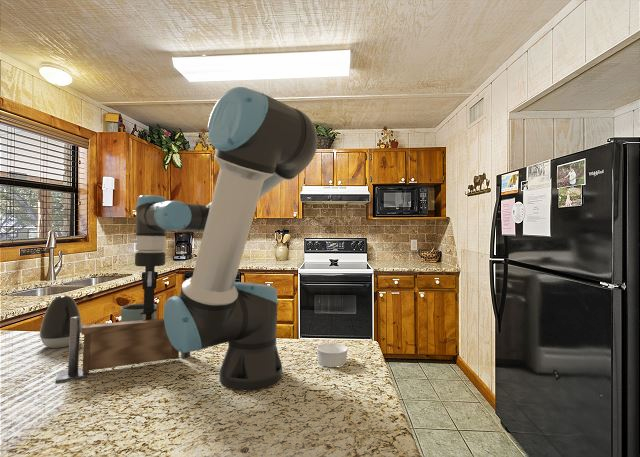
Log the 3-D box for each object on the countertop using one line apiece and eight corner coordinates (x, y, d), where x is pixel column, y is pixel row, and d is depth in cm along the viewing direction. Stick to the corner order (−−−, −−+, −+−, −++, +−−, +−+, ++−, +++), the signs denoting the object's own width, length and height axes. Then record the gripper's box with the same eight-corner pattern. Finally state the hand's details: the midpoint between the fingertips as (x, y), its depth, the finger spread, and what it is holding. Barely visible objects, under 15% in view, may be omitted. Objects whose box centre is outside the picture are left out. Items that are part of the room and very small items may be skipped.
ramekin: (310, 360, 93) (311, 345, 94) (336, 355, 98) (337, 340, 98) (326, 371, 86) (326, 355, 86) (353, 366, 90) (354, 350, 90)
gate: (79, 372, 79) (81, 328, 79) (81, 368, 81) (83, 325, 81) (178, 358, 89) (180, 319, 89) (177, 355, 92) (179, 317, 92)
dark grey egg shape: (74, 337, 107) (76, 291, 107) (86, 344, 101) (89, 295, 101) (34, 345, 99) (36, 295, 99) (44, 353, 93) (47, 299, 93)
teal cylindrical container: (136, 351, 96) (138, 310, 96) (110, 347, 99) (112, 307, 99) (163, 341, 106) (164, 304, 106) (138, 338, 109) (140, 301, 109)
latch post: (191, 357, 93) (192, 311, 93) (182, 358, 92) (183, 312, 92) (189, 354, 95) (191, 309, 95) (180, 356, 94) (182, 310, 94)
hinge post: (87, 377, 78) (90, 318, 79) (55, 383, 75) (58, 321, 75) (88, 368, 83) (91, 313, 84) (58, 373, 80) (61, 316, 80)
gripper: (136, 250, 95) (133, 331, 94) (133, 252, 83) (130, 345, 83) (164, 250, 98) (162, 328, 98) (166, 252, 87) (163, 341, 86)
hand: (148, 336), depth 90 cm, fingers closed
